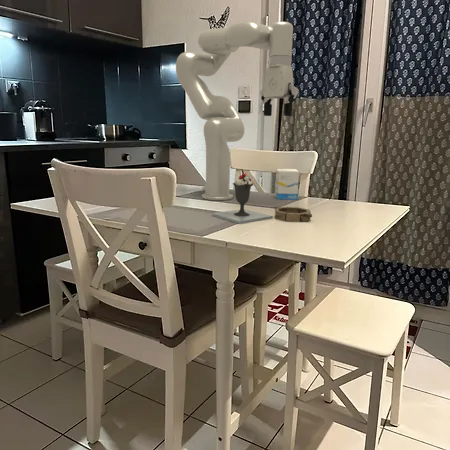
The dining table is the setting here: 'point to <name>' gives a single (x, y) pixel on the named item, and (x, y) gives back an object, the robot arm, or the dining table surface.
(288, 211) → the collar
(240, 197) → the sundae
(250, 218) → the plate
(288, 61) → the robot arm
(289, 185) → the ink box
